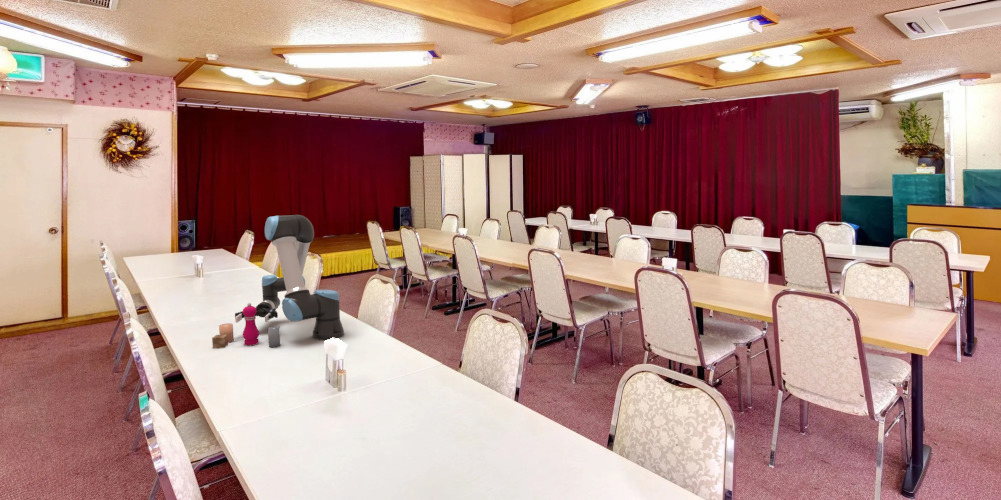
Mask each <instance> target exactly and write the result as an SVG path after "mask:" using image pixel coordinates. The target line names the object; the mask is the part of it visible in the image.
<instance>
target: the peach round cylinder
mask: <svg viewBox="0 0 1001 500" xmlns="http://www.w3.org/2000/svg"><path fill="white" fill-rule="evenodd" d="M218 333H219V334H218V335H228V344H229V343H233V342H234V340H235V337H234V336H235V335H234V324H233V323H222V324H219V325H218Z"/></svg>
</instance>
